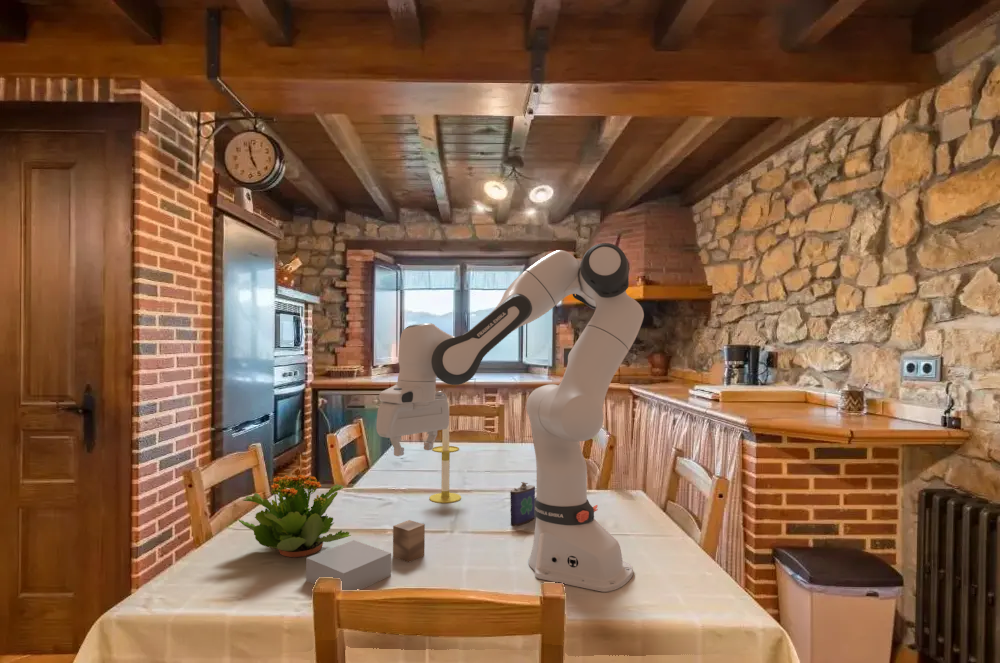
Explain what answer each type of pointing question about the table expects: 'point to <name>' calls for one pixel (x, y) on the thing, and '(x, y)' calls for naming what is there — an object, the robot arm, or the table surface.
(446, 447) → the wheel axle
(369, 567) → the plate
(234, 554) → the table surface
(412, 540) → the walnut block
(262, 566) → the table surface
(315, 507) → the potted flower
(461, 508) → the table surface
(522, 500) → the flask
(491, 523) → the table surface
